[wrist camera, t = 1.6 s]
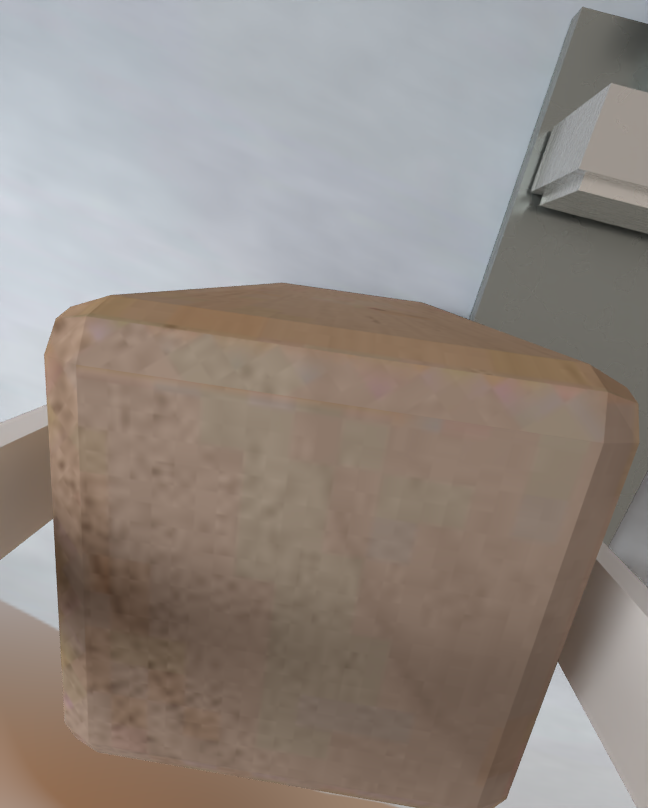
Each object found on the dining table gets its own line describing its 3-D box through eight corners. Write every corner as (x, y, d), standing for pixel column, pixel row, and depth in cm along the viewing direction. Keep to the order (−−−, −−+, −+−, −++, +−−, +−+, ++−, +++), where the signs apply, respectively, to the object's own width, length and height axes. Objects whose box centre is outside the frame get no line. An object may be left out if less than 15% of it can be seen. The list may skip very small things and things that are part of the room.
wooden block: (436, 304, 25) (698, 388, 6) (404, 459, 28) (512, 850, 9) (268, 280, 25) (6, 288, 6) (254, 436, 28) (44, 768, 9)
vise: (571, 19, 21) (653, -79, 15) (829, 86, 21) (1007, 14, 15) (390, 547, 30) (399, 611, 24) (571, 593, 30) (622, 668, 24)
